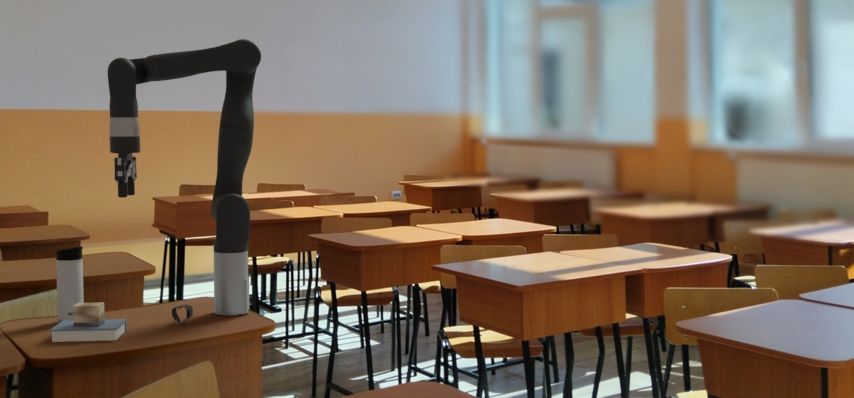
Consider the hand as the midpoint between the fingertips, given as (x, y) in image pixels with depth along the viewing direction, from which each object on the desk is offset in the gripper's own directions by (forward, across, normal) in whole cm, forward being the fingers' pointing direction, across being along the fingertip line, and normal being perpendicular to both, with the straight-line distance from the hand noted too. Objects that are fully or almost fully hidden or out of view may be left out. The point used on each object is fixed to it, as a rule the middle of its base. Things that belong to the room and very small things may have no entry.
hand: (126, 196), depth 212 cm
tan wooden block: (+30, -21, +5) cm, 37 cm away
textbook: (+33, -20, +5) cm, 39 cm away
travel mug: (+33, -4, +14) cm, 36 cm away
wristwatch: (+33, -8, -15) cm, 37 cm away
